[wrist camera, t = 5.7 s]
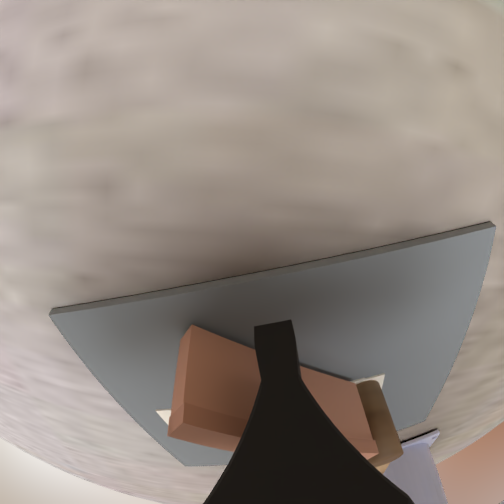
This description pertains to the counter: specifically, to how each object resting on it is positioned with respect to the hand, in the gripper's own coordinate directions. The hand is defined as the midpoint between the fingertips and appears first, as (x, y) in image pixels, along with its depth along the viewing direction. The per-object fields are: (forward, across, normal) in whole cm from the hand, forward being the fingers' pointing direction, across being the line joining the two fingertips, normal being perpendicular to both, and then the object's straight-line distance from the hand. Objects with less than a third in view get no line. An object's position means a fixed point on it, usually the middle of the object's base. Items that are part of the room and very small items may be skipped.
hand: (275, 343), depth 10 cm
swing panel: (+1, 0, +3) cm, 3 cm away
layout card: (+2, 0, +7) cm, 7 cm away
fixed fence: (+2, -4, +11) cm, 12 cm away
